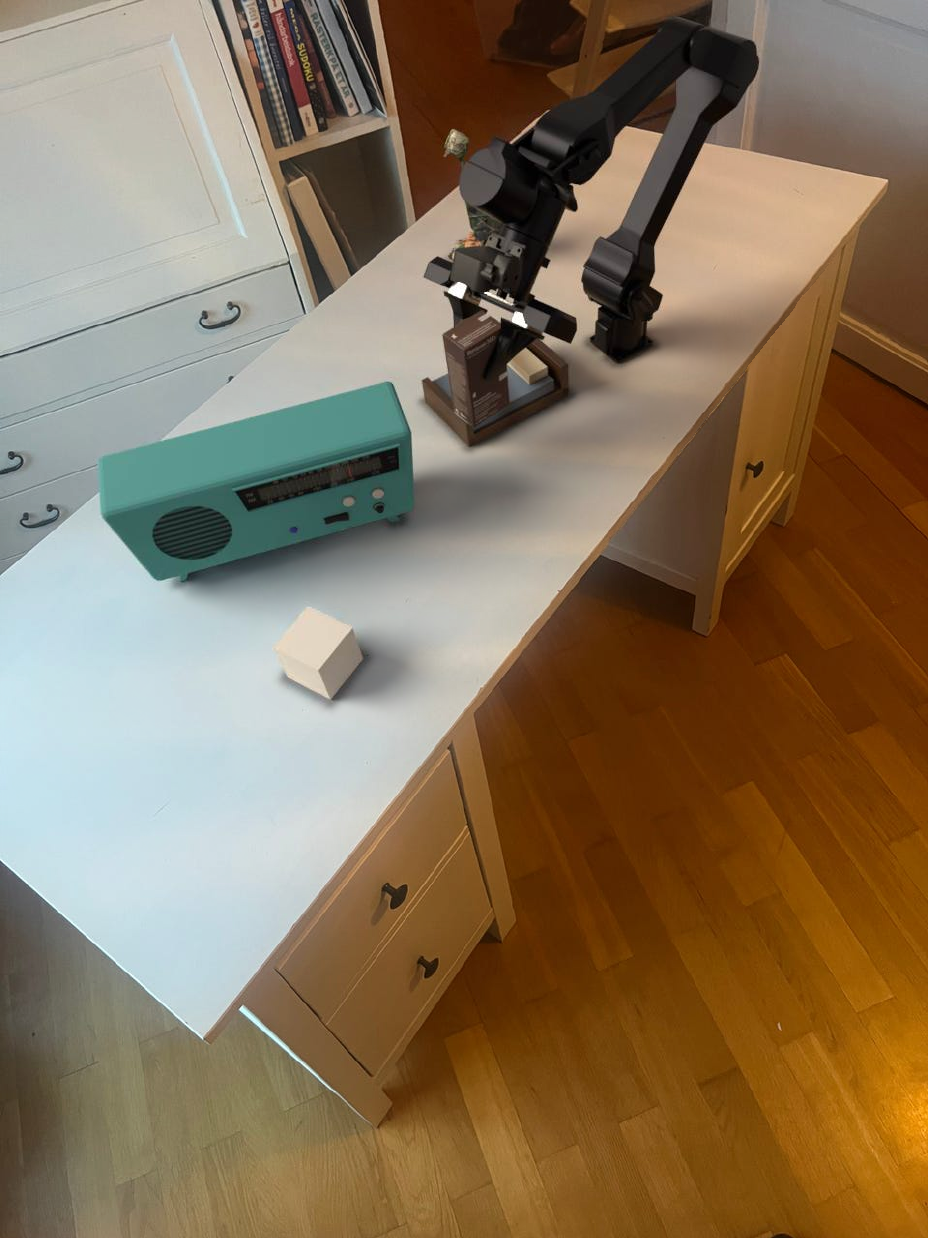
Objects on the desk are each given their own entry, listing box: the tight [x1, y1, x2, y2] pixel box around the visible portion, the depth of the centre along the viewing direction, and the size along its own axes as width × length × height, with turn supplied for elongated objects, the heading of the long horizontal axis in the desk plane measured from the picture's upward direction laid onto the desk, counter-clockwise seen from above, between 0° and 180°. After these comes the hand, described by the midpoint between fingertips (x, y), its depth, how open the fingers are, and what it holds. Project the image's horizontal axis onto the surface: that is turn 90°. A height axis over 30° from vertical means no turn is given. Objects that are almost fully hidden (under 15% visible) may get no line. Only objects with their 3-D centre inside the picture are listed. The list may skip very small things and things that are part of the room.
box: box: [441, 310, 510, 428], centre depth 104 cm, size 6×4×12 cm
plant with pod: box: [442, 128, 503, 261], centre depth 130 cm, size 8×11×20 cm
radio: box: [97, 381, 415, 582], centre depth 103 cm, size 34×10×15 cm, turn 105°
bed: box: [421, 339, 570, 448], centre depth 117 cm, size 16×11×5 cm
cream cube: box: [272, 605, 364, 701], centre depth 94 cm, size 6×6×6 cm
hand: (470, 371), depth 103 cm, fingers closed on box, 4 cm apart
